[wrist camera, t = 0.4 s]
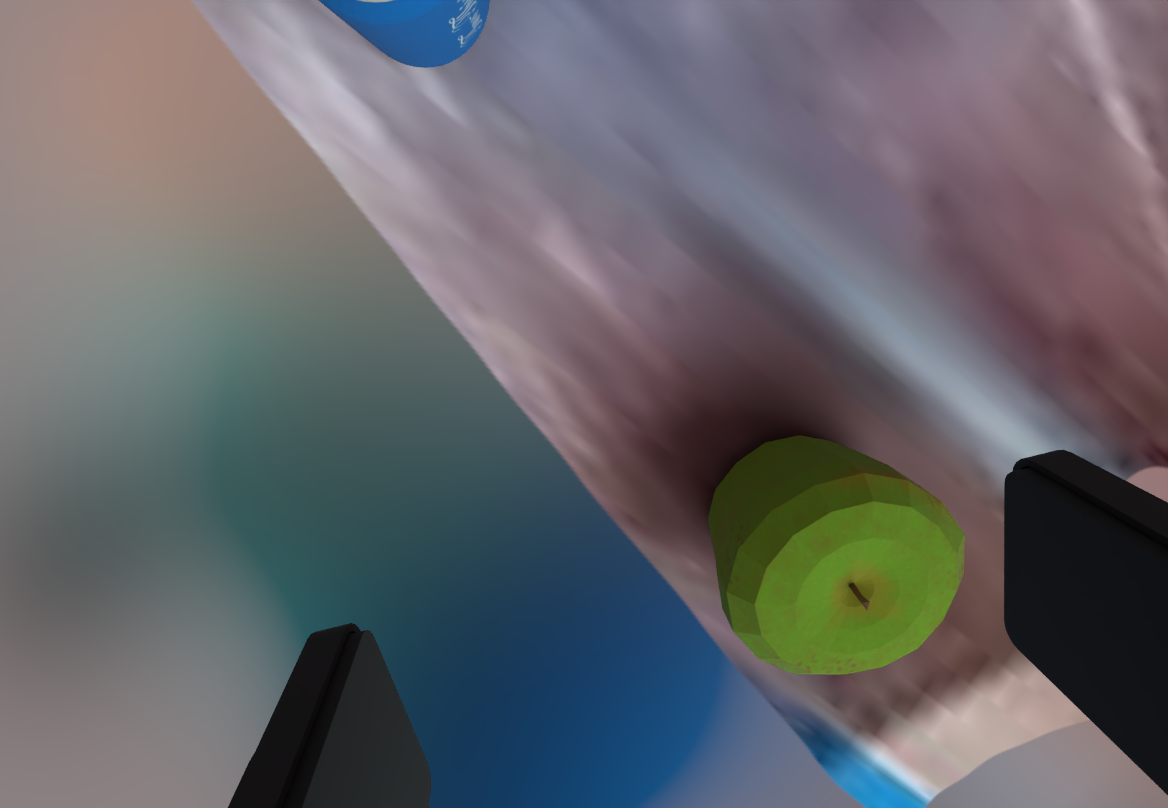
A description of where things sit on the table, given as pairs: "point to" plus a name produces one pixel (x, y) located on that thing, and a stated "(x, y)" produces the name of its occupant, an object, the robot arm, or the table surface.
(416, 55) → the beverage can
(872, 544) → the apple
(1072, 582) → the robot arm
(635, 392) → the table surface
